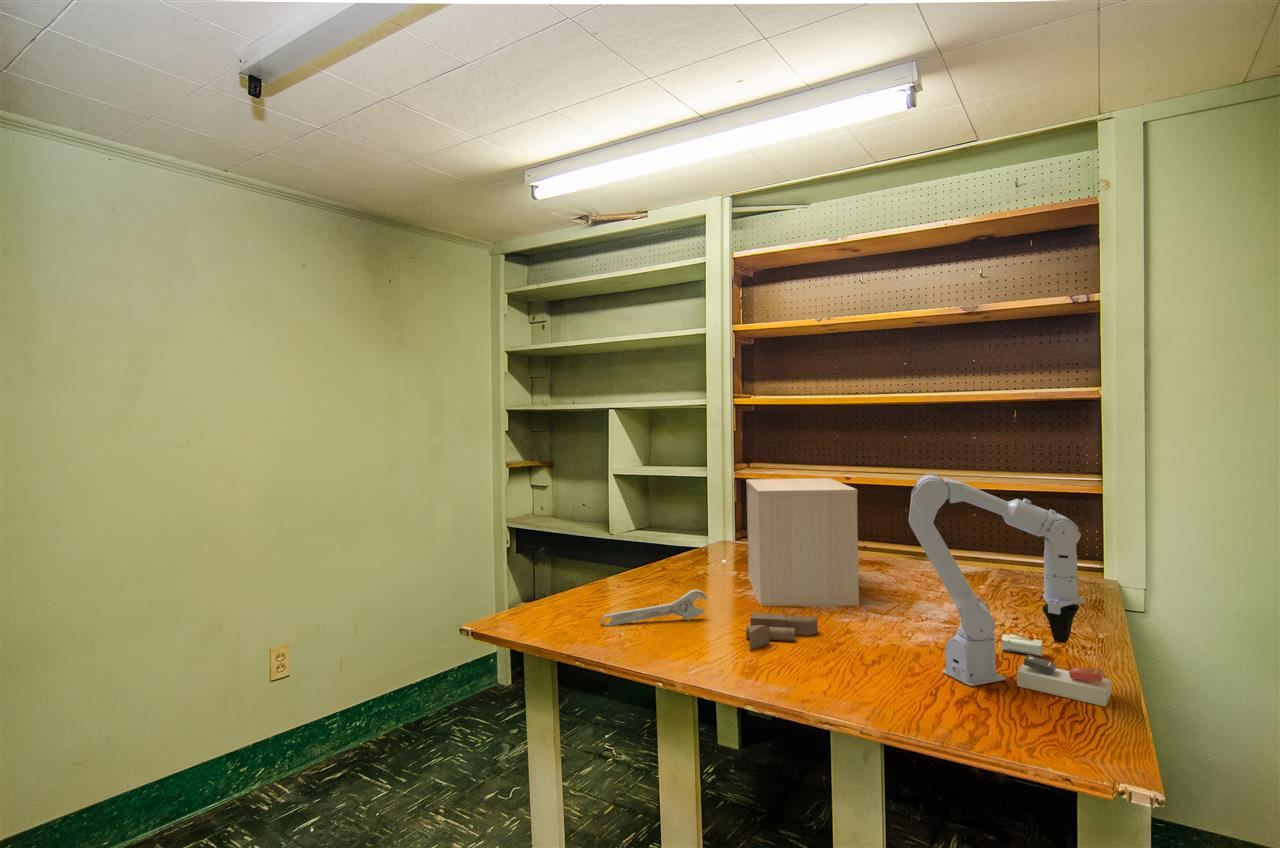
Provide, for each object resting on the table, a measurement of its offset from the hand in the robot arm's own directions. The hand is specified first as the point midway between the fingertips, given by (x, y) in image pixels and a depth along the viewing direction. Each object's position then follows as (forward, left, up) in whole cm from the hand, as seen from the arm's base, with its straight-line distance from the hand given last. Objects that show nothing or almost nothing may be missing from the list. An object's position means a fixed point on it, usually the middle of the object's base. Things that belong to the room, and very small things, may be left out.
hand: (1061, 640), depth 133 cm
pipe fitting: (+10, +18, -10) cm, 23 cm away
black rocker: (-3, +2, -5) cm, 6 cm away
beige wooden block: (-10, +84, -10) cm, 85 cm away
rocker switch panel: (-1, -1, -9) cm, 10 cm away
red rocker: (+1, -5, -5) cm, 7 cm away
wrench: (-64, +70, -10) cm, 96 cm away
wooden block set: (-39, +45, -10) cm, 60 cm away
